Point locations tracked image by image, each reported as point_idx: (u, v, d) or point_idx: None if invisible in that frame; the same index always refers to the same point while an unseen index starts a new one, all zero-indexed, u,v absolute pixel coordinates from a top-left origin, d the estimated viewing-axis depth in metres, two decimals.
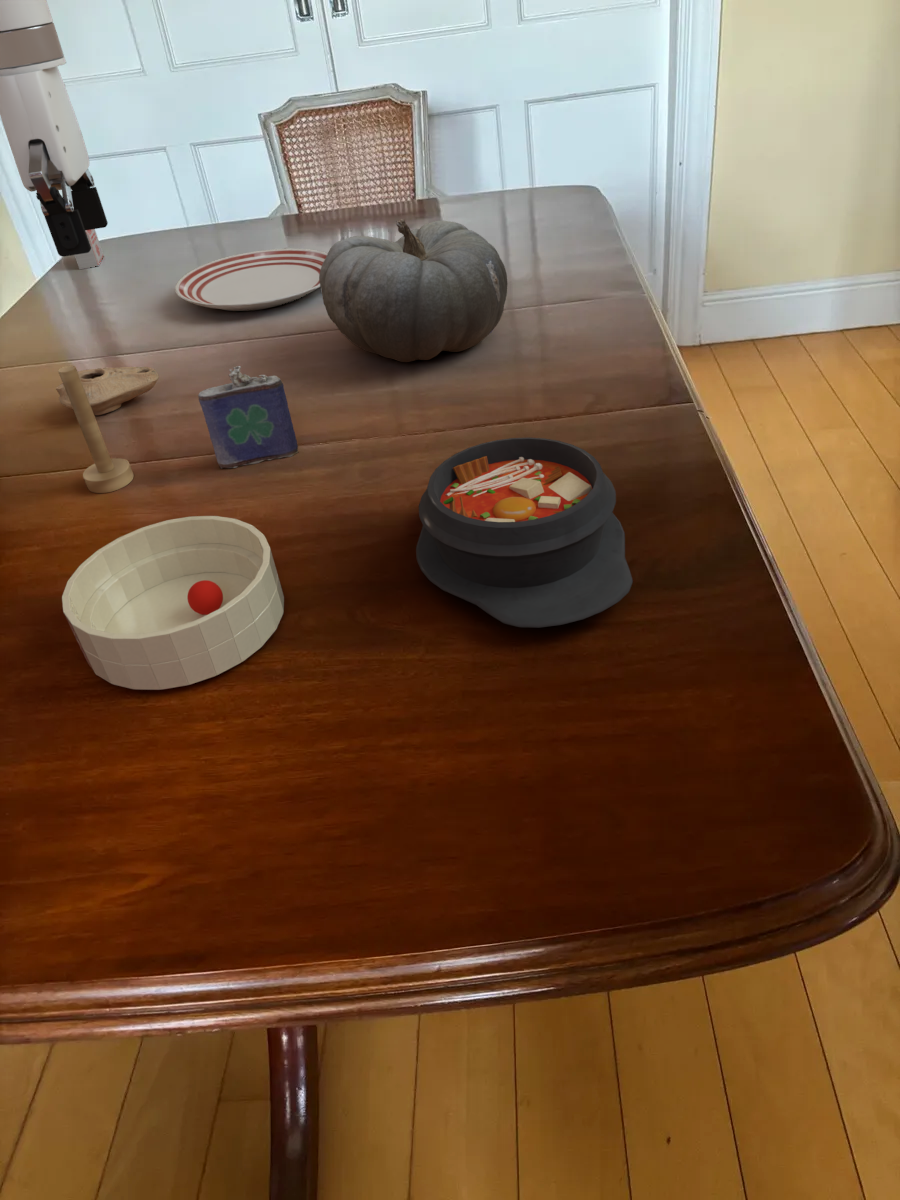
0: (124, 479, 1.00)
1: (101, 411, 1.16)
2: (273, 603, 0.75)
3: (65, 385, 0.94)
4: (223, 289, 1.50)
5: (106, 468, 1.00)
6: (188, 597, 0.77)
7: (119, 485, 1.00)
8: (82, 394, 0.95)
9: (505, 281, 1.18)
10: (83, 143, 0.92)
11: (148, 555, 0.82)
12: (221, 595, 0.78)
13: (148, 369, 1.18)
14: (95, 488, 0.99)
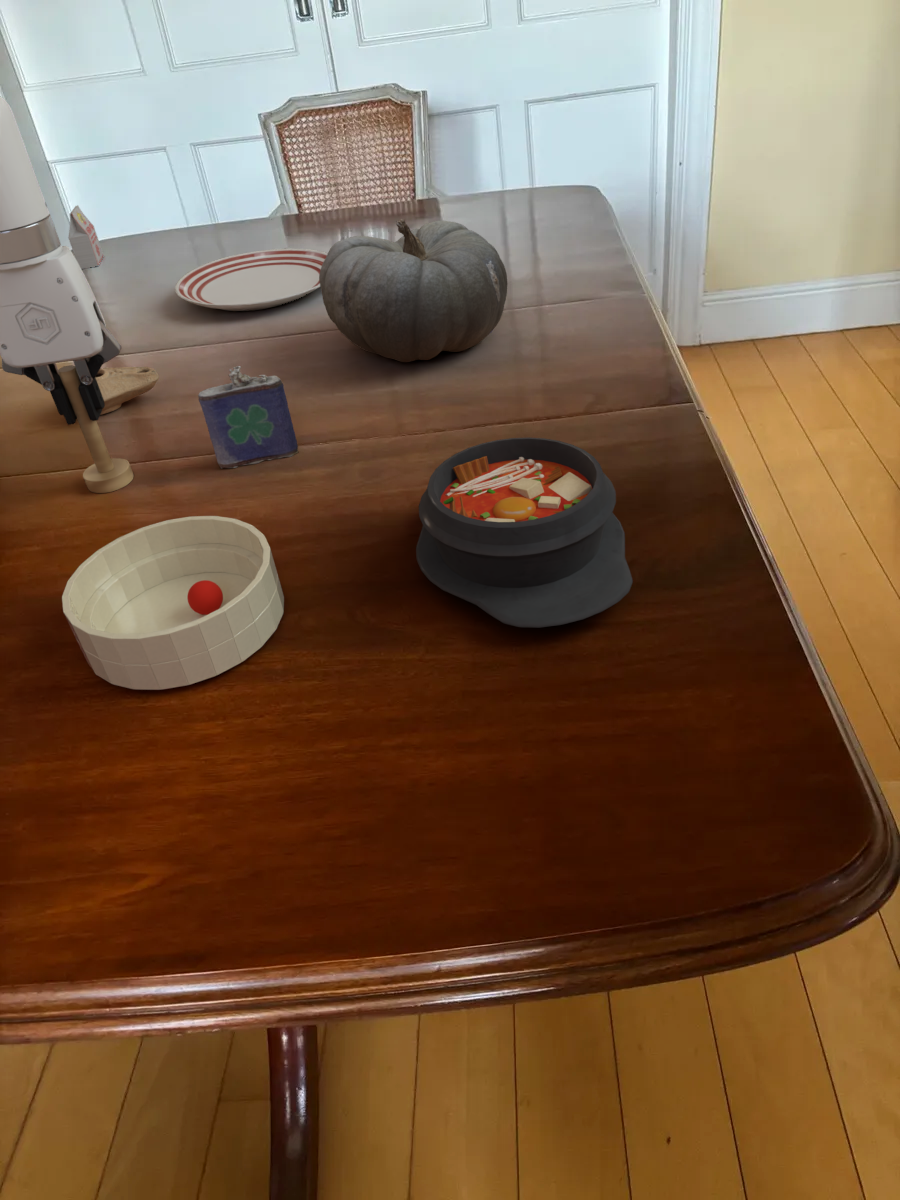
0: (124, 479, 1.00)
1: None
2: (273, 603, 0.75)
3: (65, 385, 0.94)
4: (223, 289, 1.50)
5: (106, 468, 1.00)
6: (188, 597, 0.77)
7: (119, 485, 1.00)
8: None
9: (505, 281, 1.18)
10: None
11: (148, 555, 0.82)
12: (221, 595, 0.78)
13: (148, 369, 1.18)
14: (95, 488, 0.99)
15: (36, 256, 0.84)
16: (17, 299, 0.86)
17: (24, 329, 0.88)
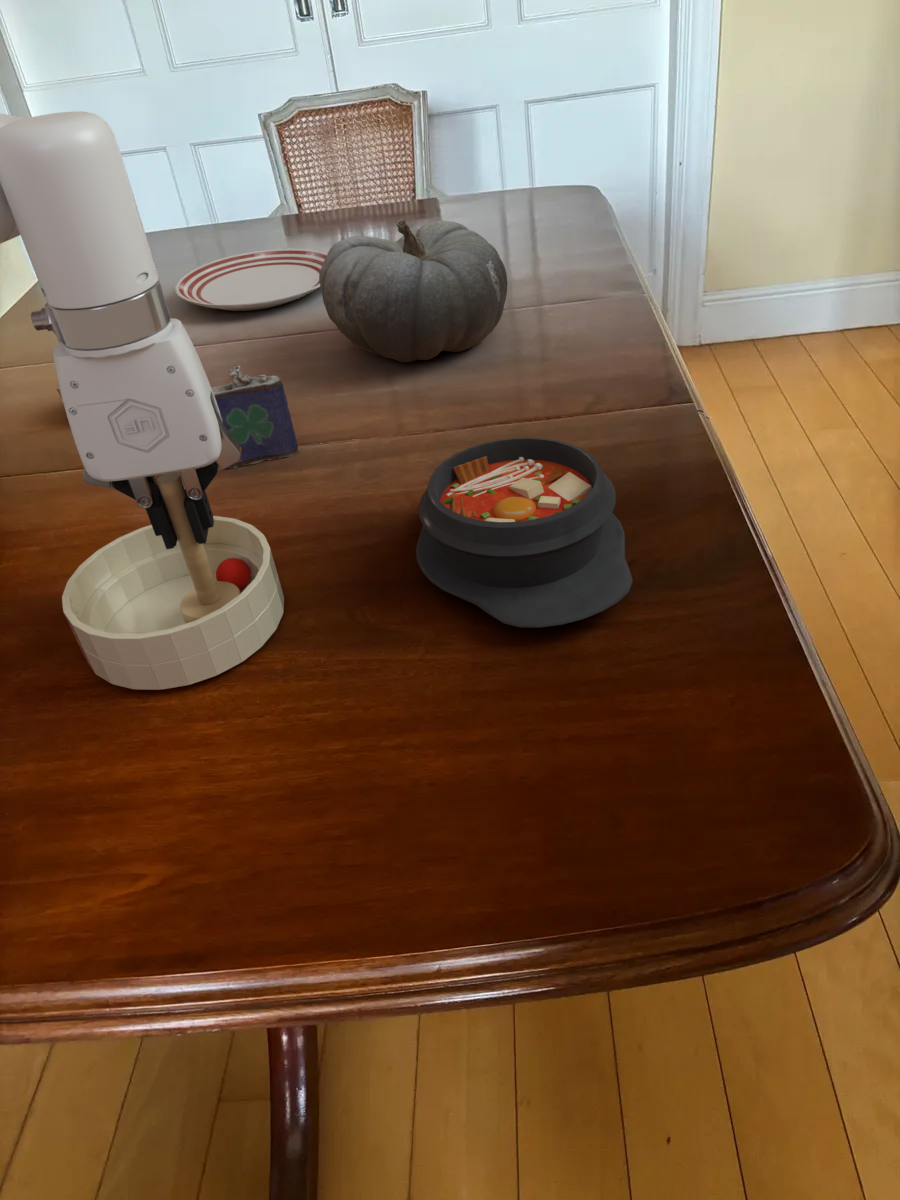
0: None
1: None
2: (273, 603, 0.75)
3: (165, 499, 0.70)
4: (223, 289, 1.50)
5: (211, 599, 0.76)
6: None
7: None
8: None
9: (505, 281, 1.18)
10: None
11: (148, 555, 0.82)
12: (241, 585, 0.80)
13: None
14: None
15: (142, 338, 0.60)
16: (112, 395, 0.62)
17: (119, 433, 0.64)
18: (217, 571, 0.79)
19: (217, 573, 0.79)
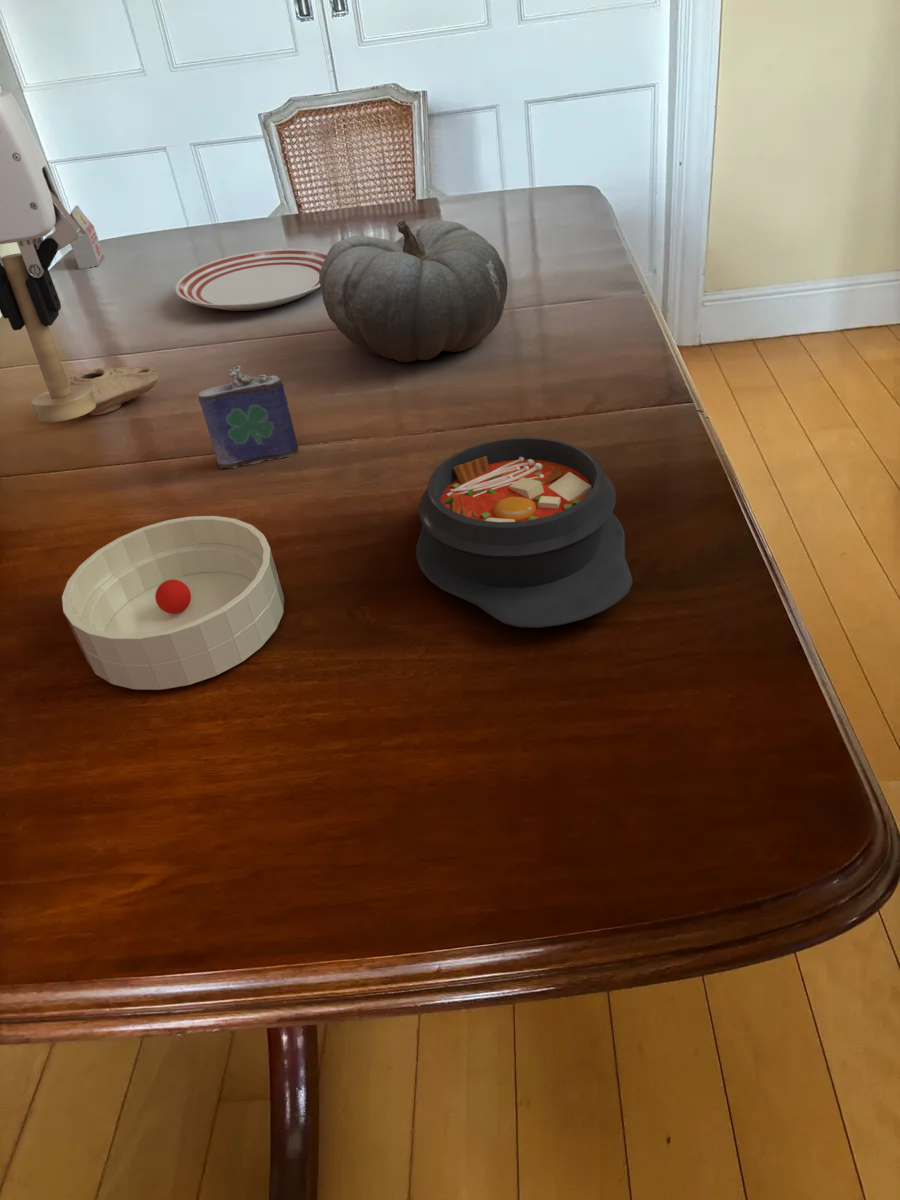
0: (78, 408, 0.80)
1: (101, 411, 1.16)
2: (273, 603, 0.75)
3: (8, 276, 0.75)
4: (223, 289, 1.50)
5: (58, 392, 0.80)
6: None
7: (70, 414, 0.79)
8: None
9: (505, 281, 1.18)
10: None
11: (148, 555, 0.82)
12: (179, 597, 0.77)
13: (148, 369, 1.18)
14: (41, 415, 0.79)
15: None
16: None
17: None
18: None
19: None
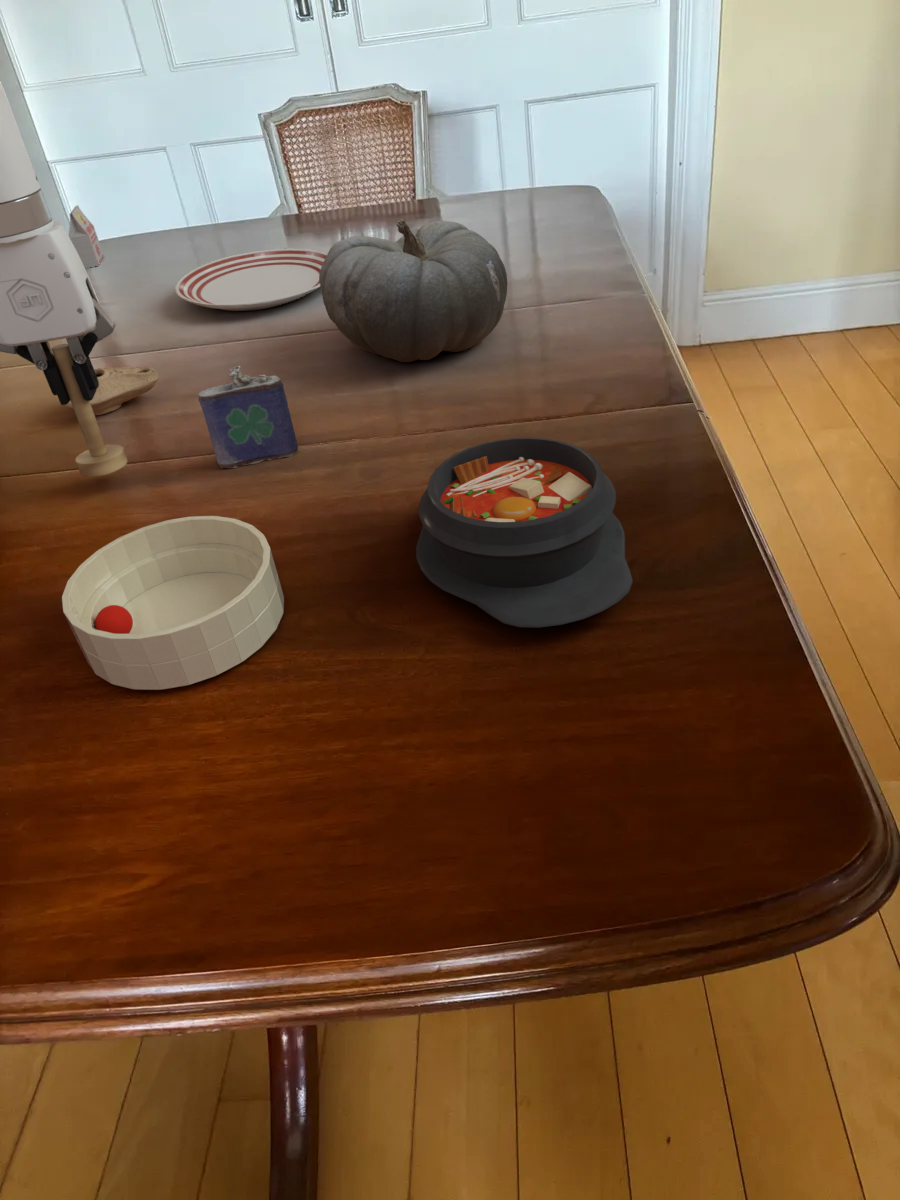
0: (113, 464, 0.98)
1: (101, 411, 1.16)
2: (273, 603, 0.75)
3: (57, 363, 0.93)
4: (223, 289, 1.50)
5: (97, 452, 0.98)
6: (114, 605, 0.77)
7: (107, 470, 0.97)
8: None
9: (505, 281, 1.18)
10: None
11: (148, 555, 0.82)
12: None
13: (148, 369, 1.18)
14: (84, 471, 0.97)
15: (27, 231, 0.83)
16: (8, 275, 0.85)
17: (16, 306, 0.87)
18: None
19: None
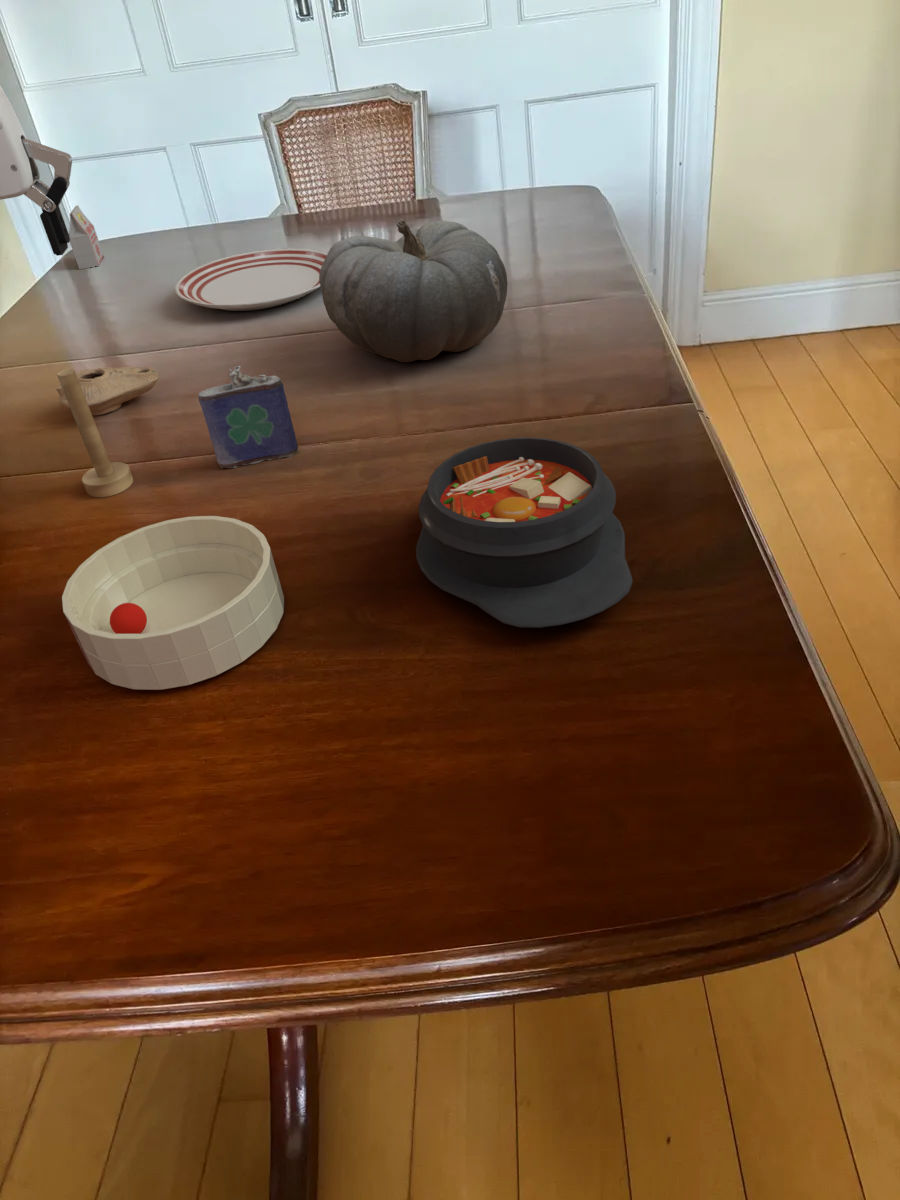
0: (120, 485, 0.99)
1: (101, 411, 1.16)
2: (273, 603, 0.75)
3: (63, 388, 0.93)
4: (223, 289, 1.50)
5: (104, 473, 0.99)
6: (139, 606, 0.77)
7: (114, 491, 0.99)
8: (80, 398, 0.94)
9: (505, 281, 1.18)
10: None
11: (148, 555, 0.82)
12: None
13: (148, 369, 1.18)
14: (91, 492, 0.99)
15: None
16: None
17: None
18: (111, 614, 0.76)
19: (110, 616, 0.76)
